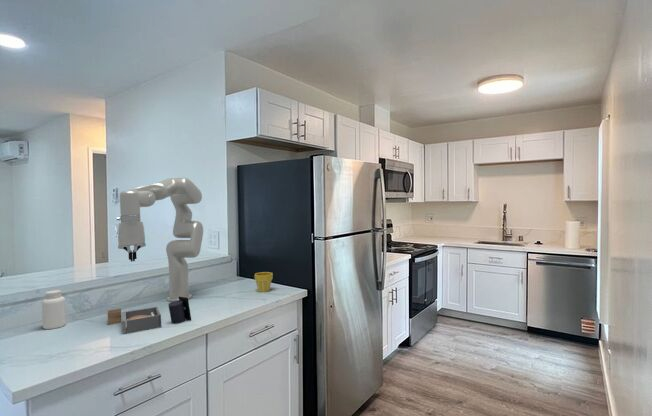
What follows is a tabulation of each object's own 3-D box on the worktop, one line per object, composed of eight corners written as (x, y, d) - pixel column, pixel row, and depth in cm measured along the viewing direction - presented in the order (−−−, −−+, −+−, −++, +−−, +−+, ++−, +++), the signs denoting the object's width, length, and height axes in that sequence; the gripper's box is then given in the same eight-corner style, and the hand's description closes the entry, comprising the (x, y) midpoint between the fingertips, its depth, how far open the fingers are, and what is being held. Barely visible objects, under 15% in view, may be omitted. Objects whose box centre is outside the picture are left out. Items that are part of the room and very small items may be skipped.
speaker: (186, 316, 159) (183, 294, 157) (191, 320, 154) (188, 297, 153) (168, 322, 154) (166, 299, 152) (173, 326, 149) (171, 302, 148)
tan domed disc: (127, 321, 150) (127, 317, 150) (147, 318, 154) (147, 313, 154) (128, 326, 143) (128, 321, 143) (149, 323, 147) (149, 318, 147)
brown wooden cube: (108, 321, 155) (107, 310, 155) (121, 319, 158) (120, 308, 158) (107, 324, 151) (107, 313, 151) (121, 322, 154) (121, 311, 154)
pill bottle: (40, 331, 146) (39, 294, 145) (45, 325, 153) (44, 290, 153) (64, 327, 149) (63, 292, 149) (67, 322, 156) (66, 288, 156)
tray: (154, 317, 158) (154, 307, 158) (158, 326, 146) (157, 315, 146) (122, 323, 152) (122, 312, 152) (123, 333, 140) (122, 321, 139)
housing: (157, 317, 159) (157, 306, 159) (161, 327, 146) (160, 315, 146) (125, 323, 153) (125, 311, 153) (126, 333, 140) (126, 320, 140)
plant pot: (276, 289, 205) (276, 273, 205) (262, 293, 197) (262, 276, 197) (265, 287, 212) (264, 271, 212) (251, 291, 204) (250, 274, 204)
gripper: (110, 220, 148) (112, 264, 148) (150, 218, 155) (152, 260, 156) (110, 219, 154) (112, 261, 155) (149, 218, 162) (151, 257, 162)
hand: (132, 260), depth 155 cm, fingers closed
